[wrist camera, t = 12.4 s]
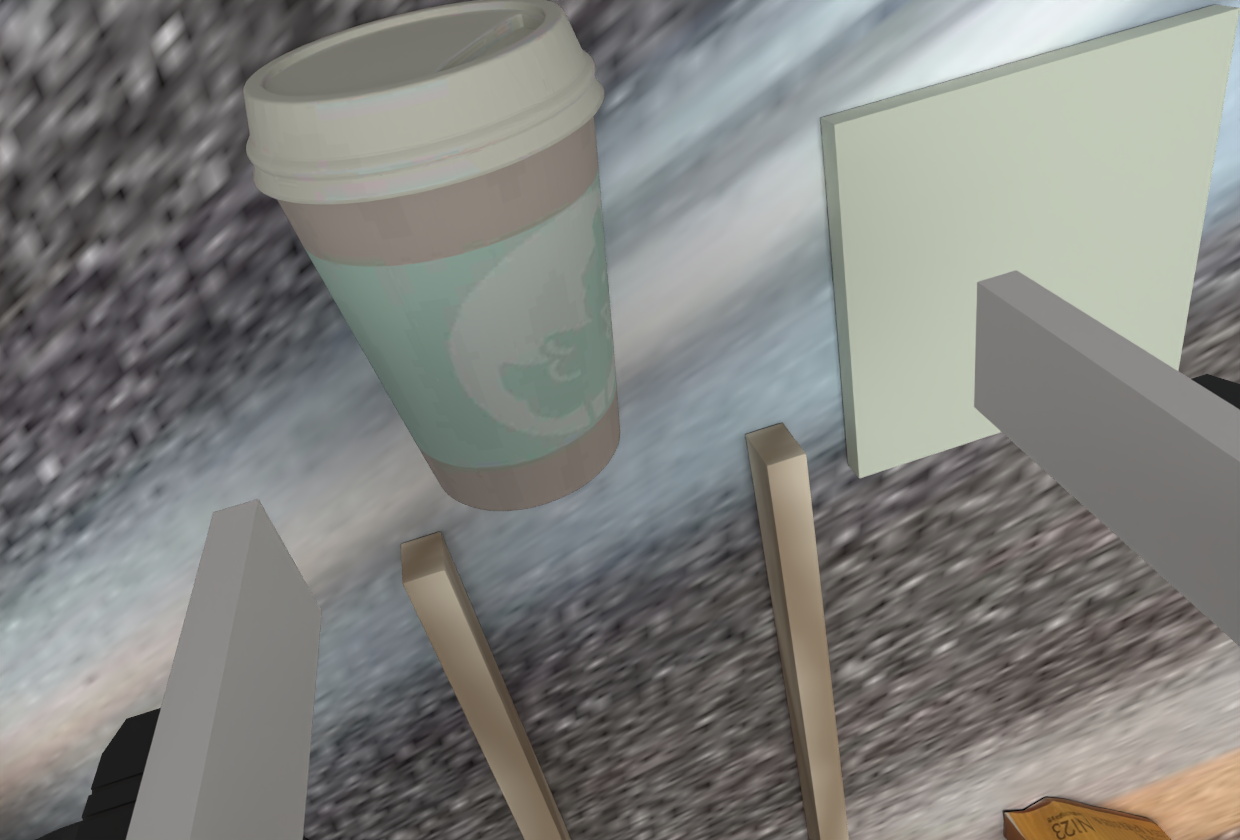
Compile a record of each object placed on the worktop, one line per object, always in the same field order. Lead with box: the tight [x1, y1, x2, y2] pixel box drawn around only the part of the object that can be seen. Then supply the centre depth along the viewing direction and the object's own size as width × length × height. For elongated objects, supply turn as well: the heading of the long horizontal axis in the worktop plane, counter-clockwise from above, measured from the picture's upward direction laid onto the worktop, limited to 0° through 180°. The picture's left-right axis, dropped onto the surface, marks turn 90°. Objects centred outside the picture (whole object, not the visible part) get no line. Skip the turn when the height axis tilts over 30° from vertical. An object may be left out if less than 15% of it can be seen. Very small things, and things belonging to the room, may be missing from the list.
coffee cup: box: [243, 0, 620, 511], centre depth 24 cm, size 9×8×12 cm
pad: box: [821, 5, 1240, 478], centre depth 32 cm, size 14×14×1 cm
